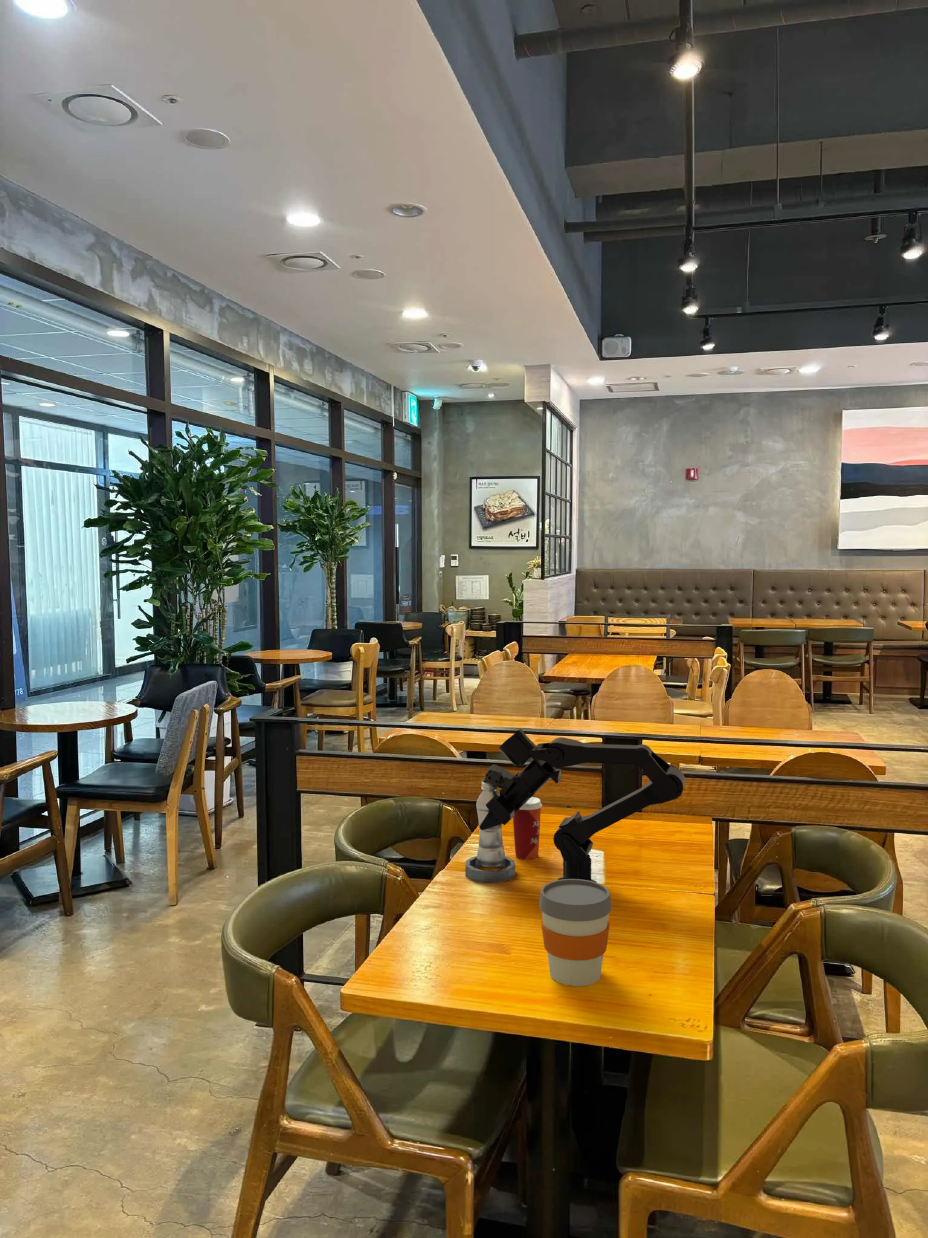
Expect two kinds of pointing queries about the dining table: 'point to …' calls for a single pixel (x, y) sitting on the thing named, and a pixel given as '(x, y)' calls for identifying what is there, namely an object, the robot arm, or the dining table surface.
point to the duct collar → (489, 871)
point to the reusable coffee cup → (575, 929)
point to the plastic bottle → (489, 831)
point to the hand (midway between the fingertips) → (484, 824)
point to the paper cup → (527, 829)
